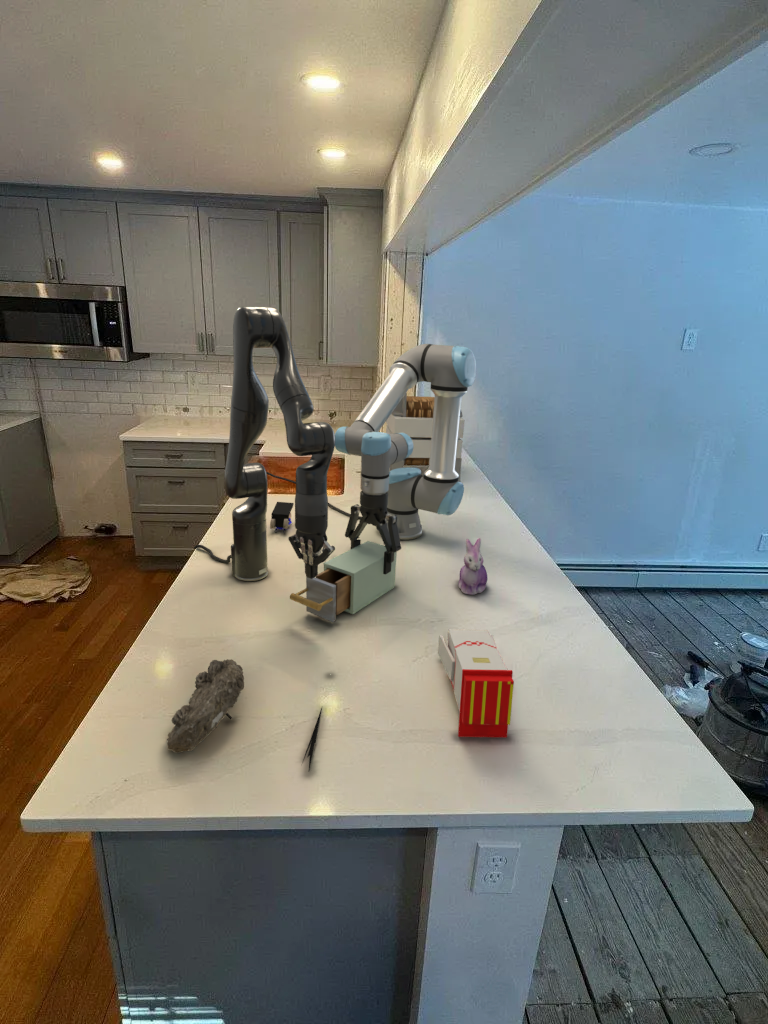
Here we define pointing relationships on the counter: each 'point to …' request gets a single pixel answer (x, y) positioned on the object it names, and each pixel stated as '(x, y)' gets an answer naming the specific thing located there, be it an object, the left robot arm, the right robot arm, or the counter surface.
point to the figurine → (473, 570)
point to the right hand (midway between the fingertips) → (371, 567)
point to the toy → (478, 682)
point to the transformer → (419, 430)
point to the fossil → (206, 705)
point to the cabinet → (364, 573)
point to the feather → (313, 740)
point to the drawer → (326, 594)
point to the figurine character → (281, 516)
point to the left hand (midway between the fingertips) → (311, 577)
